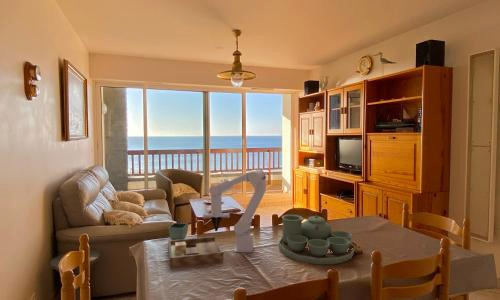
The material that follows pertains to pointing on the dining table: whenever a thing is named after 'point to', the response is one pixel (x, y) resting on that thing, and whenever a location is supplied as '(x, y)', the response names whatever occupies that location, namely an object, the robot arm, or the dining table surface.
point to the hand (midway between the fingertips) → (216, 230)
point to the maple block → (180, 247)
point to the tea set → (314, 241)
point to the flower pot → (178, 231)
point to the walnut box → (195, 252)
